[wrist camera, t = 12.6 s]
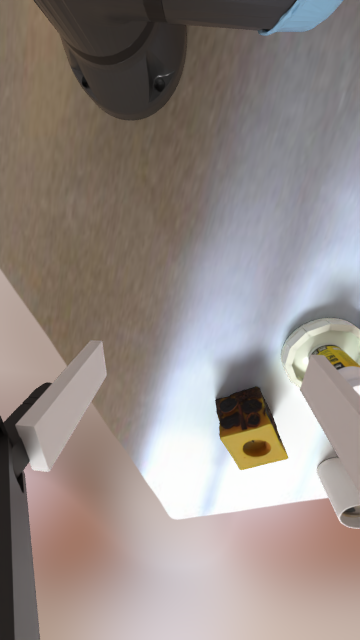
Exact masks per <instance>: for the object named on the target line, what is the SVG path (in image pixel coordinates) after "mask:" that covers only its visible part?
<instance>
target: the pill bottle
mask: <svg viewBox="0 0 360 640" xmlns="http://www.w3.org/2000/svg"><path fill="white" fill-rule="evenodd" d="M311 355H324V356H325V357H326V358H327V359H328V360H329V362H330V363H331V364H332V365H333V366H334V367H335V368H336V369H337V371H338V372H339V373H340V374H341V375H342V376H343V377H344V378H345V380H346V381H347V382H348V383H349V384H350V385H351V386H352V387H353V389H354V390H355V391H356V392H357V393H358V394H359V395H360V365H359V364H358V363H356V362H355V361H354V360H353V359H352V358H351V357H350V356H349V355H348V354H347V353H346V352H344V351H343V350H342V349H341V348H340V347H339V346H337V345H335V344H331V343H324V344H321V345H318V346H316V347H315V348H314V349H313V350H312V351H311V352H310V354H309V356H308V362H309V359H310V356H311Z"/></svg>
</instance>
